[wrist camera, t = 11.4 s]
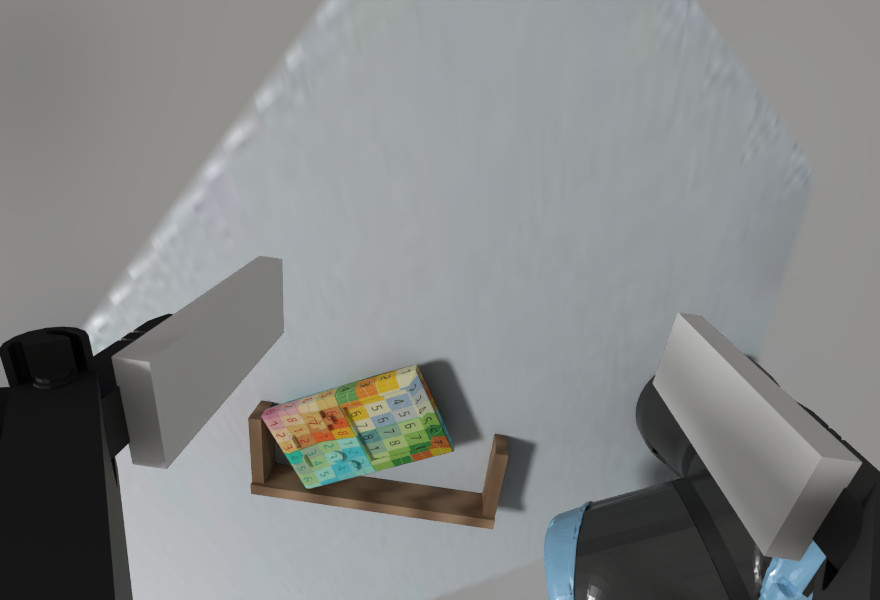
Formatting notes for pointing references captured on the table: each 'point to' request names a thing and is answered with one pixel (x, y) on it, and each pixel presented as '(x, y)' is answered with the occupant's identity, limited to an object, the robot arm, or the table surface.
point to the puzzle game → (359, 427)
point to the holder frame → (377, 486)
